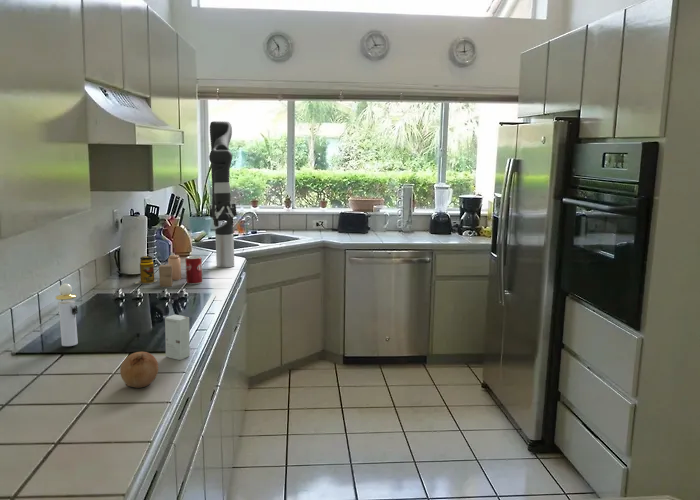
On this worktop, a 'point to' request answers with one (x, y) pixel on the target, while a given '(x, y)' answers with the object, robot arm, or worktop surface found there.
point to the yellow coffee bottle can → (146, 270)
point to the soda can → (193, 270)
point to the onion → (139, 369)
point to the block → (165, 275)
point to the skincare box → (177, 337)
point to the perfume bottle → (67, 316)
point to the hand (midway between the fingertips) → (223, 225)
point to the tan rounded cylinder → (175, 266)
